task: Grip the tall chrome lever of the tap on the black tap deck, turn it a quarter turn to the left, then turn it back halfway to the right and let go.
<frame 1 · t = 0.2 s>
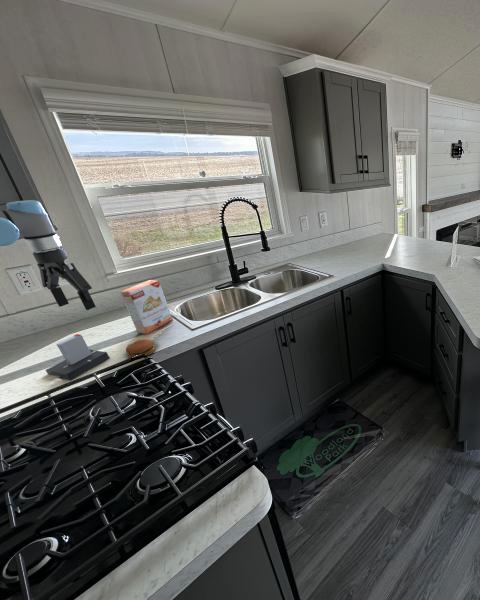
hand: (77, 306, 117), 25 cm above the countertop, tool pointing down, fingers open, 13 cm apart
tap handle: (74, 349, 123), point 8 cm above the countertop, hinge at 0.0°
burger: (142, 353, 133), on the countertop
tap deck: (80, 367, 126), on the countertop
cracker box: (156, 326, 153), on the countertop
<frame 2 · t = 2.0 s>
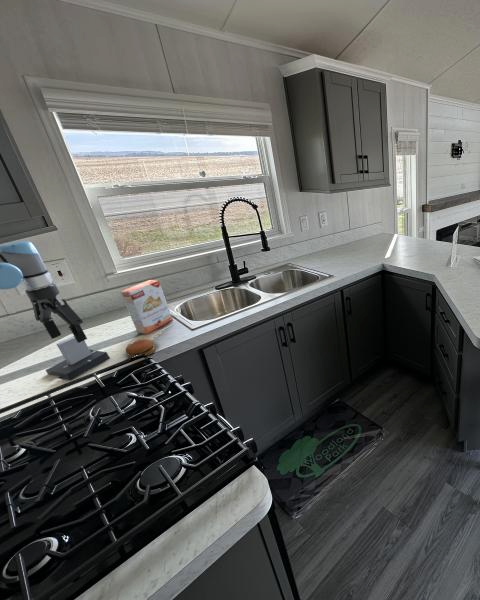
hand: (69, 338, 122), 12 cm above the countertop, tool pointing down, fingers open, 13 cm apart
nothing on the countertop moved.
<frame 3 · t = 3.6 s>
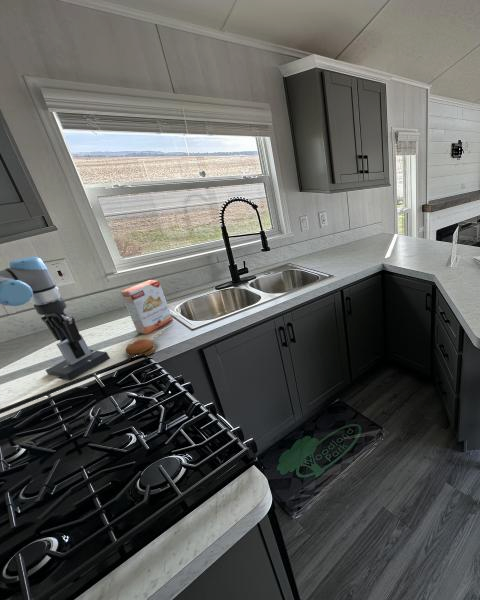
hand: (78, 356, 125), 4 cm above the countertop, tool pointing down, fingers closed on tap handle, 2 cm apart
tap handle: (74, 349, 123), point 8 cm above the countertop, hinge at 0.0°, touching gripper
everything else where it was.
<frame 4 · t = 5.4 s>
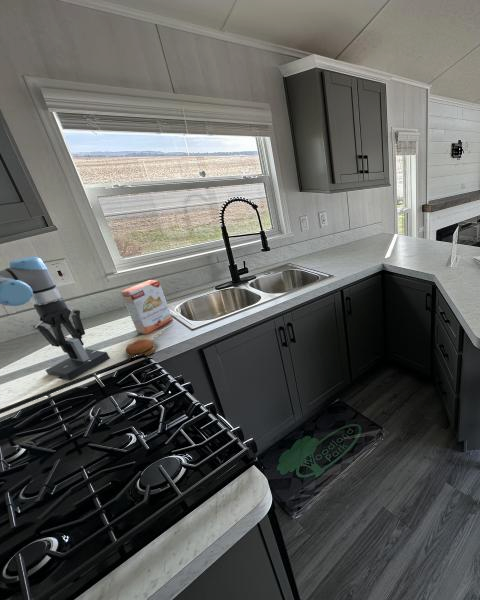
hand: (78, 356, 125), 4 cm above the countertop, tool pointing down, fingers closed on tap handle, 2 cm apart
tap handle: (74, 349, 123), point 8 cm above the countertop, hinge at 90.0°, touching gripper
everything else where it was.
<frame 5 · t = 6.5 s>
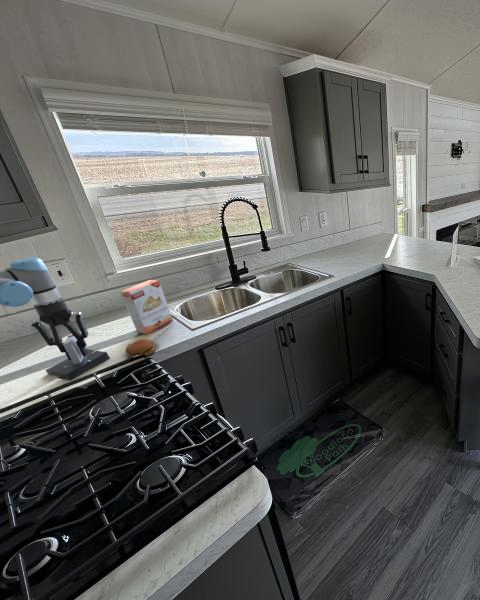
hand: (78, 356, 125), 4 cm above the countertop, tool pointing down, fingers open, 3 cm apart
tap handle: (74, 349, 123), point 8 cm above the countertop, hinge at 45.6°
everything else where it was.
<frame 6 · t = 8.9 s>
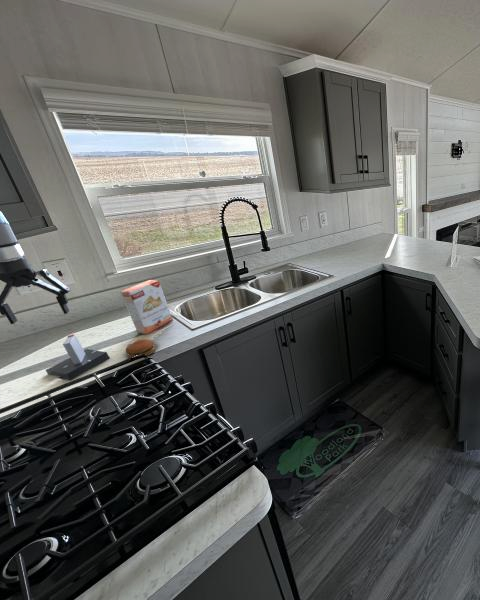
hand: (41, 317, 114), 23 cm above the countertop, tool pointing down, fingers open, 13 cm apart
nothing on the countertop moved.
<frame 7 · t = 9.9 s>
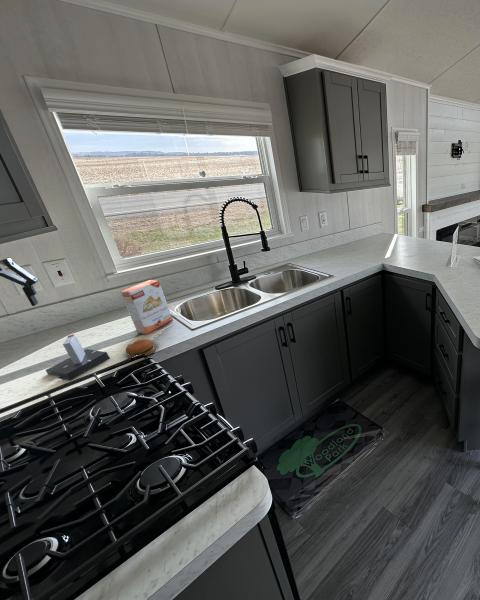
hand: (7, 309, 107), 29 cm above the countertop, tool pointing down, fingers open, 13 cm apart
nothing on the countertop moved.
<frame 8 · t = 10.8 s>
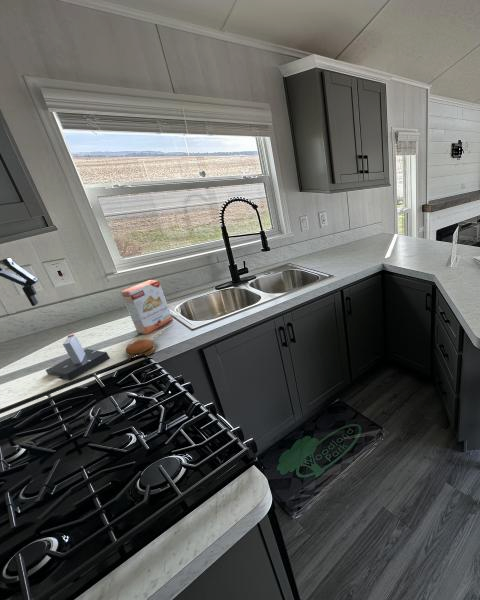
hand: (7, 309, 107), 29 cm above the countertop, tool pointing down, fingers open, 13 cm apart
nothing on the countertop moved.
at the end: tap handle reached +90° during the clip, +46° at the end; tap handle at +46° (first picture: +0°) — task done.
